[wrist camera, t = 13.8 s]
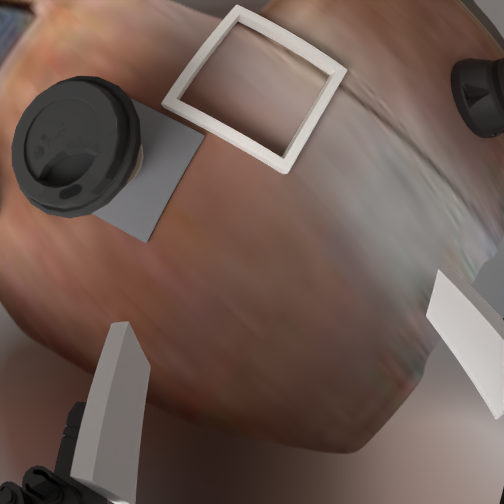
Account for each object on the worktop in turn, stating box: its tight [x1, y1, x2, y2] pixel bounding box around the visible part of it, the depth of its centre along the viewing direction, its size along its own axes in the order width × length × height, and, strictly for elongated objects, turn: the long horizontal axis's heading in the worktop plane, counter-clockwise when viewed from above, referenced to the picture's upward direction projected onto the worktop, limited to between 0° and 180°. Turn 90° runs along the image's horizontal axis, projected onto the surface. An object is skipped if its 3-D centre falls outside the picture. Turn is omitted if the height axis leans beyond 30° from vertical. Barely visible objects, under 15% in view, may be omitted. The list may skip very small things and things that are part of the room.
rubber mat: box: [92, 98, 205, 243], centre depth 32 cm, size 16×14×1 cm
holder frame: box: [161, 5, 347, 174], centre depth 32 cm, size 16×16×2 cm
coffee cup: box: [12, 76, 143, 218], centre depth 24 cm, size 11×11×15 cm
